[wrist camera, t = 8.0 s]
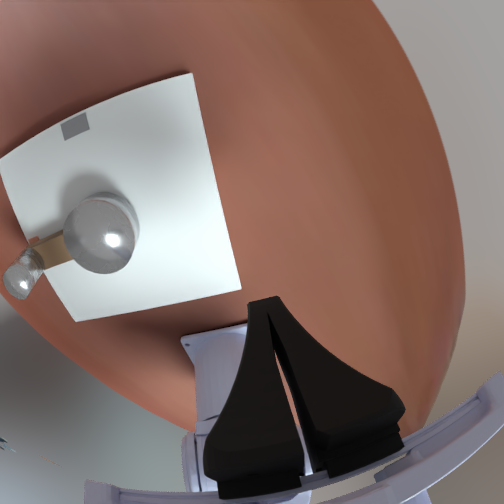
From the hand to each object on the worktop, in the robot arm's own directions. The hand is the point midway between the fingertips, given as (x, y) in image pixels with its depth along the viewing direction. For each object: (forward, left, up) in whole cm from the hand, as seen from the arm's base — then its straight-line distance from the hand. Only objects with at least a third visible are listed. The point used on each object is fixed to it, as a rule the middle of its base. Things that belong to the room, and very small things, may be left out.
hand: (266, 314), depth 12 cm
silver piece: (+3, +12, -8) cm, 14 cm away
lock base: (+3, +9, -9) cm, 13 cm away
